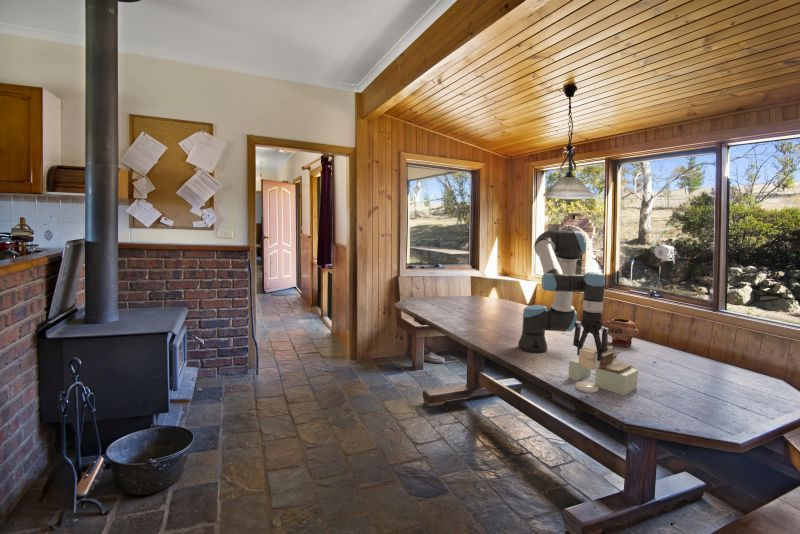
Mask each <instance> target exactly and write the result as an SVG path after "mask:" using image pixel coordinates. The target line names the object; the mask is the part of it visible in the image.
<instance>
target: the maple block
mask: <svg viewBox="0 0 800 534" xmlns="http://www.w3.org/2000/svg"><path fill="white" fill-rule="evenodd" d="M596 352H597V348H593V347H588V346H585V347H584V346H583V347H582V349H579V356H578V357H579V363H578V366H581V367H585V368H588V369H591V371H592V370H594V369H595V368H594V365H595V353H596ZM599 365H600V362H599ZM595 370H596V369H595Z"/></svg>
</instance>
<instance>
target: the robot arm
mask: <svg viewBox="0 0 800 534" xmlns="http://www.w3.org/2000/svg"><path fill="white" fill-rule="evenodd" d="M586 244H587V243H586V237H585V235H584V233H583V232H582V231H580V230H573V229H572V230H571V229H570V230H560V229H559V230H554V229H553V230H552V229H550V230H547V231H544V232H542V233H541V234H539V236H538V237H537V238H536V239H535V242H534V252H535V254H536V255H537V256H538V258H539V260H540V264H541V267H542V270H543V274H542V276H541V288H542V290H543V291H547V292H554V300H553V303H551V305H550V308H547V306H546V305H543V304H541V305H540V304H533V305H528V306H526V307H524V308H523V310H522V311H523V313H522V329H521V331H522V332H521V335H520V338H519V340H518V343H517V348H518V350H520V351H523V352H527V353H535V354H536V353H537V354H539V353H540V354H541V353H546V352H548V344H547V339H546V336H545V335H546V334H545V333H546V331H549V332H550V331H552V332H561V333H562V332H563V333H565V332H572V331H573V330H574V334H573V343H572V345H573V346H574V347H576V348H577V350H576V351H577V356H578V357H579V349H582V348H584V344H585V341H586V339H587V337H588V335H589V334H592V337H593V339H594V343H595V349H597V352H596V353H595V365H594V368H595V370H596V369H597V368H599V362H600V361H601V360H602V353H605V352H607V351H608V346H609V345H608V339H609V338H608V336H609V335H608V332H609V327H605V326H602V322H603V311H604V296H605V285H606V276H605V274H604V273H602V272H601V273H600V272H594V271H591V272H586V273H581V274H576V269H577V261H579V260H580V259H581V255H582V256H583V255H584V254H585V253H586V248H587V247H586V246H587V245H586ZM573 293H583V298H582V299H583V301H582V309H583V310H582V312H581V313H582V314H581V315H582V316H581V321H580V322H579V321H578V313H577V311H576V310H575V307H574V306H573V305H572V302H573V295H574V294H573ZM581 328H583V330H582V332H581ZM600 331H601V334H600ZM581 333H582V334H581ZM600 335H601V337H600Z"/></svg>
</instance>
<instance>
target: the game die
mask: <svg viewBox="0 0 800 534" xmlns="http://www.w3.org/2000/svg"><path fill="white" fill-rule="evenodd" d="M608 352H614V354H613V360H614V361H616V359H617V356H618V354H619V353H620V351H617V350H616V349H615V347H614V346H613V343H611V344H610V345H608V351H607V352H605V353H602V355H603V354H606V353H608Z"/></svg>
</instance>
